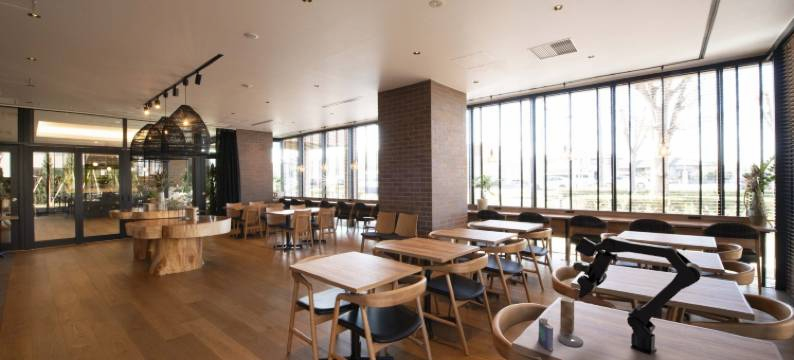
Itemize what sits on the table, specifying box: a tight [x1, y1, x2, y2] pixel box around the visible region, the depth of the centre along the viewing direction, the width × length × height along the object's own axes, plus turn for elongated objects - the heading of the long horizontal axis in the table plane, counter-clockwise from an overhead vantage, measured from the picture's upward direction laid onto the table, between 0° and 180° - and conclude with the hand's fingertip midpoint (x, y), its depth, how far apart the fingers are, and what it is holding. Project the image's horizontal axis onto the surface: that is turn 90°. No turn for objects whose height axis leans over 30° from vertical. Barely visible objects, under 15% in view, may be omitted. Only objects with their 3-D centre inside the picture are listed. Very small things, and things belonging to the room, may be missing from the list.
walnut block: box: [559, 296, 575, 334], centre depth 148 cm, size 4×4×13 cm
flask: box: [538, 317, 554, 352], centre depth 136 cm, size 9×3×11 cm, turn 2°
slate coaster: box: [557, 333, 584, 348], centre depth 139 cm, size 9×9×1 cm
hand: (583, 294), depth 147 cm, fingers open, 9 cm apart
